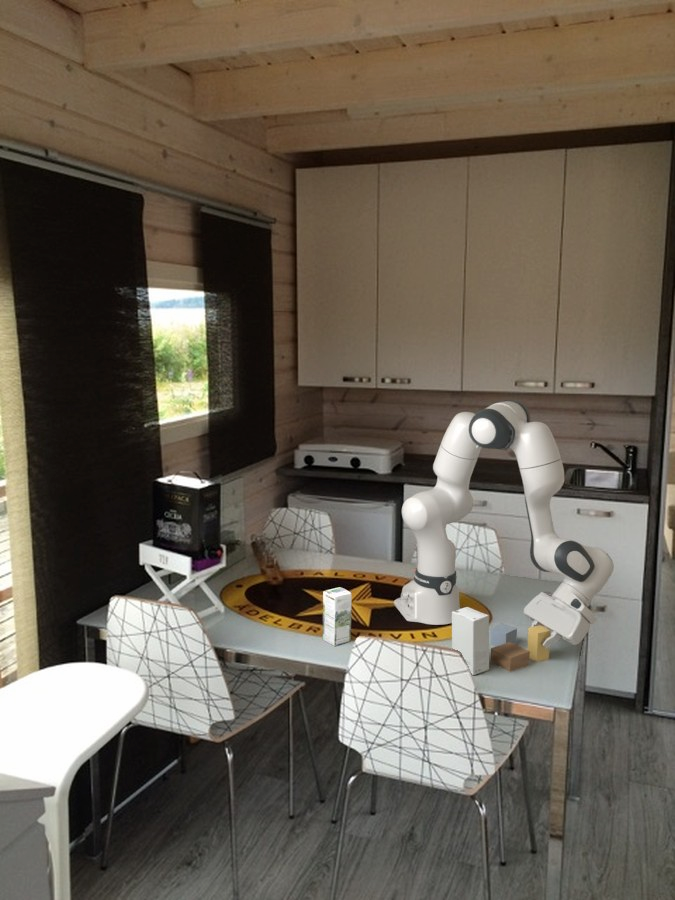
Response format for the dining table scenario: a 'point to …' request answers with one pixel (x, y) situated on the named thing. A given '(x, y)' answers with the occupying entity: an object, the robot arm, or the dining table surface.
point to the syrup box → (337, 616)
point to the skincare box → (471, 638)
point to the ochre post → (538, 643)
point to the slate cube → (503, 635)
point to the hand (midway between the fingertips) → (536, 642)
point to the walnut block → (509, 656)
